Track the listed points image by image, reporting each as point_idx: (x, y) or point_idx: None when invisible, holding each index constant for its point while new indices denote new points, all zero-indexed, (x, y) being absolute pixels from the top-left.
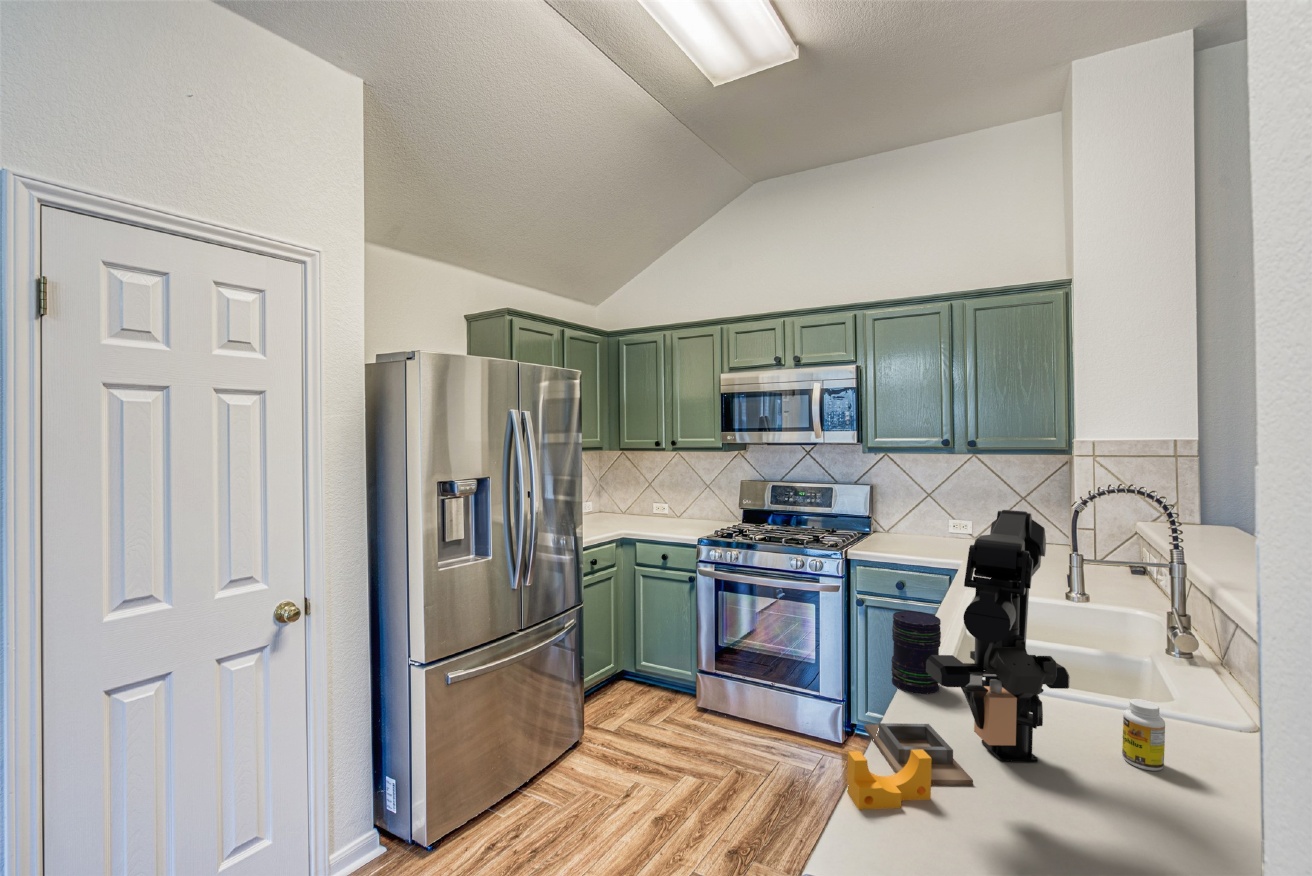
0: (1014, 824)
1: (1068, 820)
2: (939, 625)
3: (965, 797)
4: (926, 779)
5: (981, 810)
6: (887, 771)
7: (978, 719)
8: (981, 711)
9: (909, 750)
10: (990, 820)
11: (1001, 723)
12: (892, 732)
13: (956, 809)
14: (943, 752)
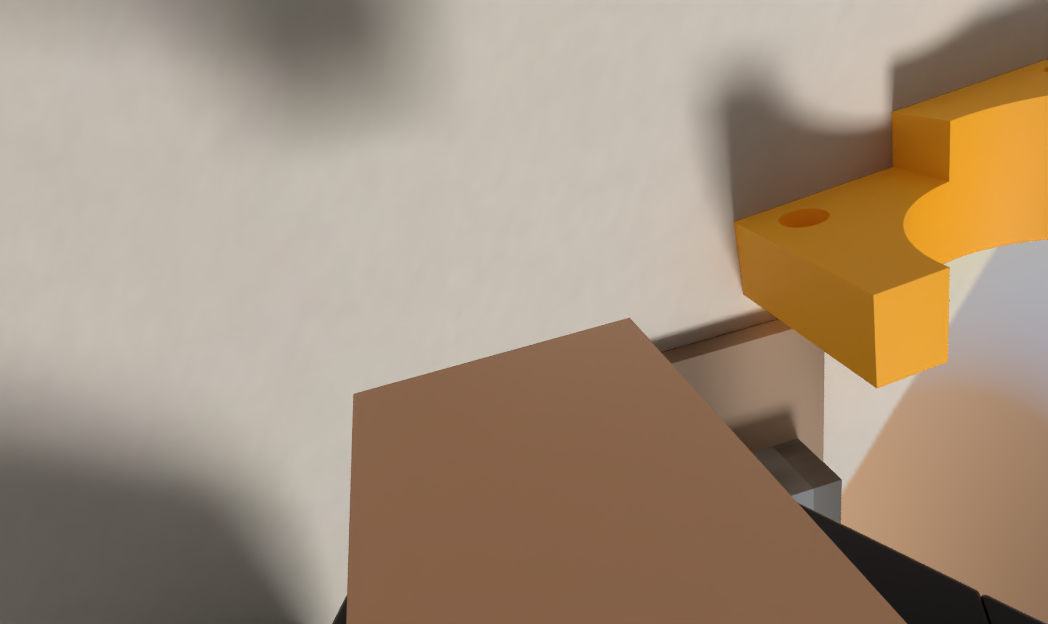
0: (387, 96)
1: (65, 213)
2: None
3: (565, 283)
4: (815, 241)
5: (523, 187)
6: (836, 390)
7: (816, 513)
8: (889, 590)
9: (789, 491)
10: (504, 104)
11: (570, 497)
12: None
13: (643, 164)
14: None
